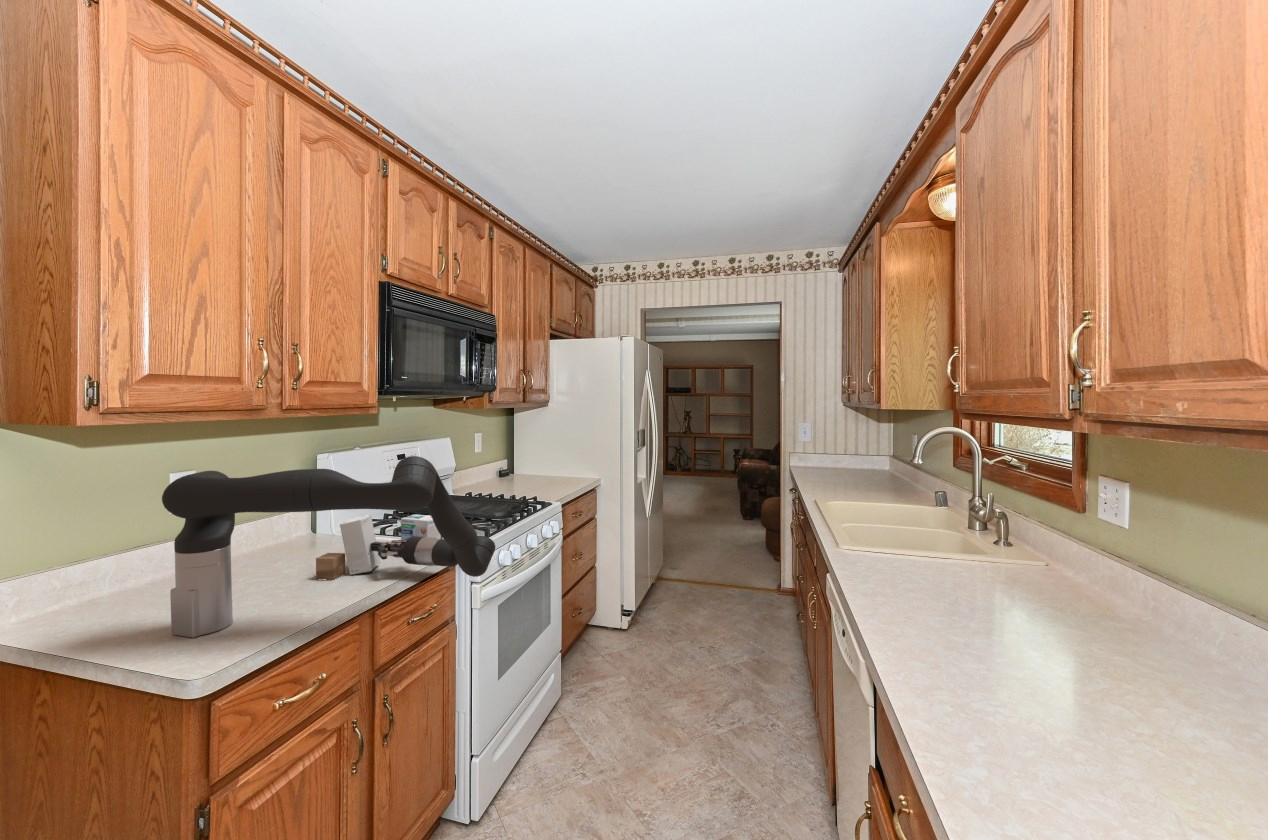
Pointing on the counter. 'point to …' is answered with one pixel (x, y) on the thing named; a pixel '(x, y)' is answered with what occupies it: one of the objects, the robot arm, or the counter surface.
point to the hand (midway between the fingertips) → (372, 546)
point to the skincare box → (359, 544)
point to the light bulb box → (418, 527)
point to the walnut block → (330, 566)
